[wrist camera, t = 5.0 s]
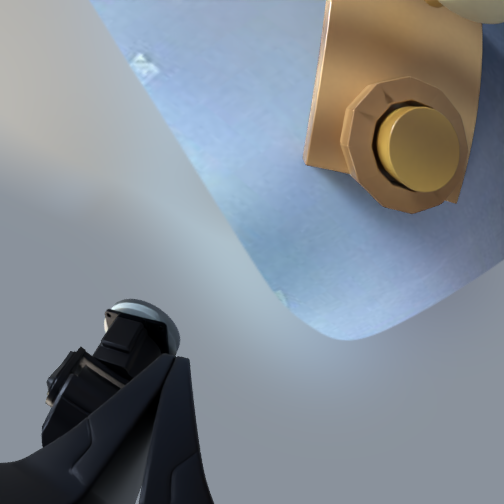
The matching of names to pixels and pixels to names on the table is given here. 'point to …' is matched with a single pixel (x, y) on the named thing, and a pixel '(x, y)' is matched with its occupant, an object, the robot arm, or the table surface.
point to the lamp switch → (418, 148)
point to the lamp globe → (474, 9)
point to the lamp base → (391, 88)
